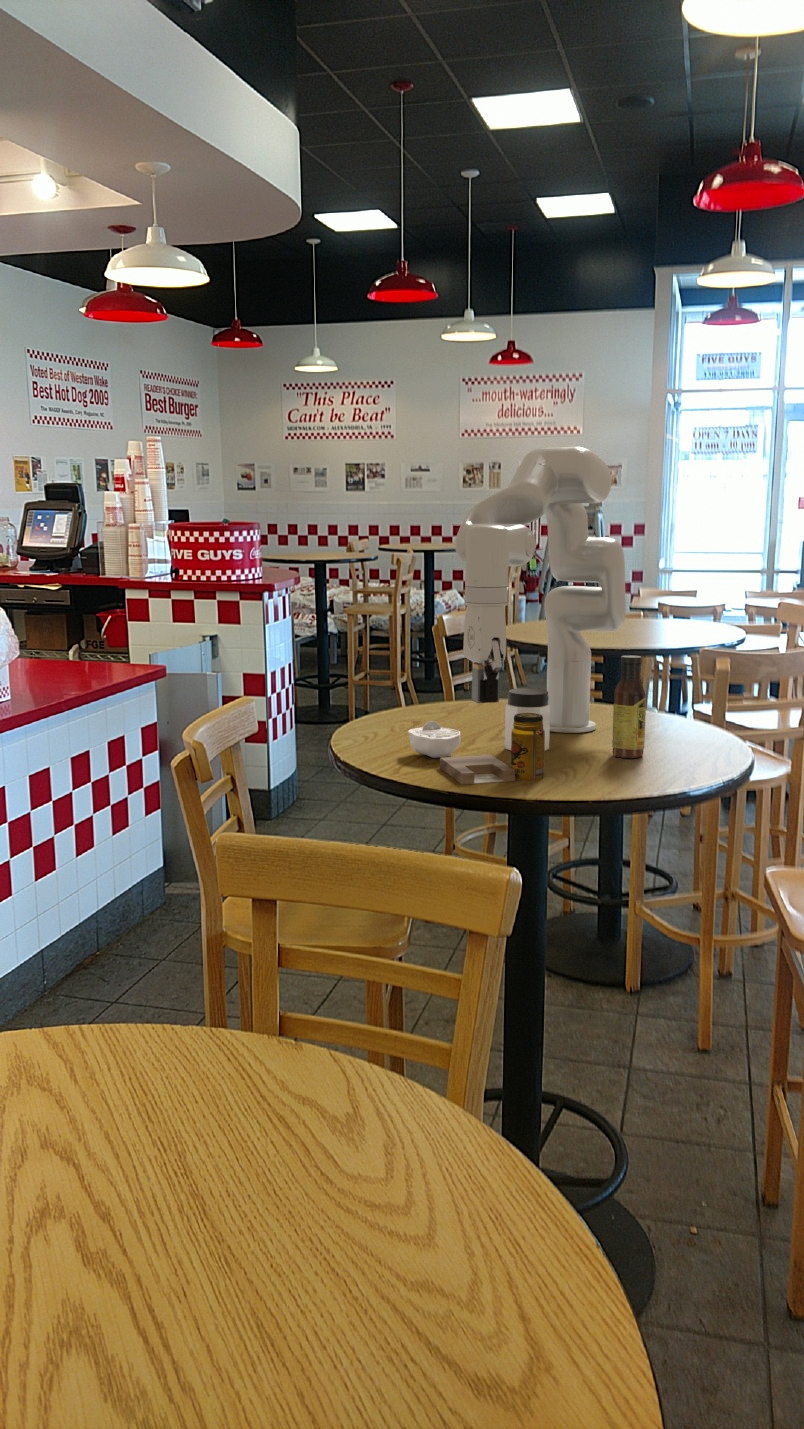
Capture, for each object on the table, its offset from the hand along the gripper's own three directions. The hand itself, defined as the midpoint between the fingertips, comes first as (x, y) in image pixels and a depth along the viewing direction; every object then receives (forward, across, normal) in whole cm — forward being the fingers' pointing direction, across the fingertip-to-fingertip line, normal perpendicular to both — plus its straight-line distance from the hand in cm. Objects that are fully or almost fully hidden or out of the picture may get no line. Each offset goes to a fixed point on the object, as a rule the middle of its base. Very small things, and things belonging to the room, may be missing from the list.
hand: (485, 699), depth 190 cm
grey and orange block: (0, 0, 0) cm, 0 cm away
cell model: (+15, -20, -3) cm, 26 cm away
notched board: (+15, -4, 0) cm, 15 cm away
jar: (+15, -22, +17) cm, 31 cm away
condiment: (+15, 0, +9) cm, 18 cm away
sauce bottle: (+15, -10, +34) cm, 39 cm away
